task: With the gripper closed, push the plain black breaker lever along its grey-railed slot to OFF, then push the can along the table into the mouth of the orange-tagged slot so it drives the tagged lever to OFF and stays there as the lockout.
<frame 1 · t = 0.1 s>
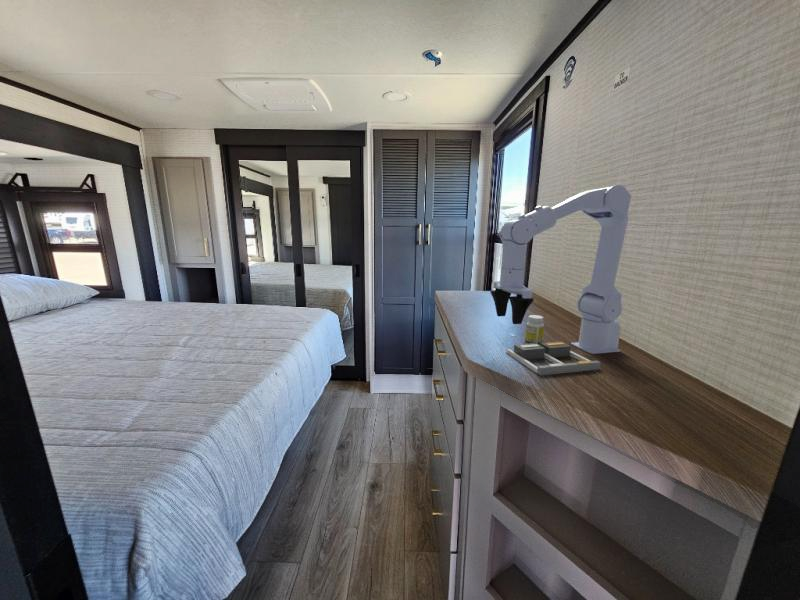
hand: (508, 319, 81), 10 cm above the table, fingers open, 7 cm apart
supplement bottle: (533, 344, 92), on the table
breaker B: (529, 351, 81), point 2 cm above the table, slide at 0.0 cm
breaker A: (554, 349, 83), point 2 cm above the table, slide at 0.0 cm
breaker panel: (548, 360, 80), on the table
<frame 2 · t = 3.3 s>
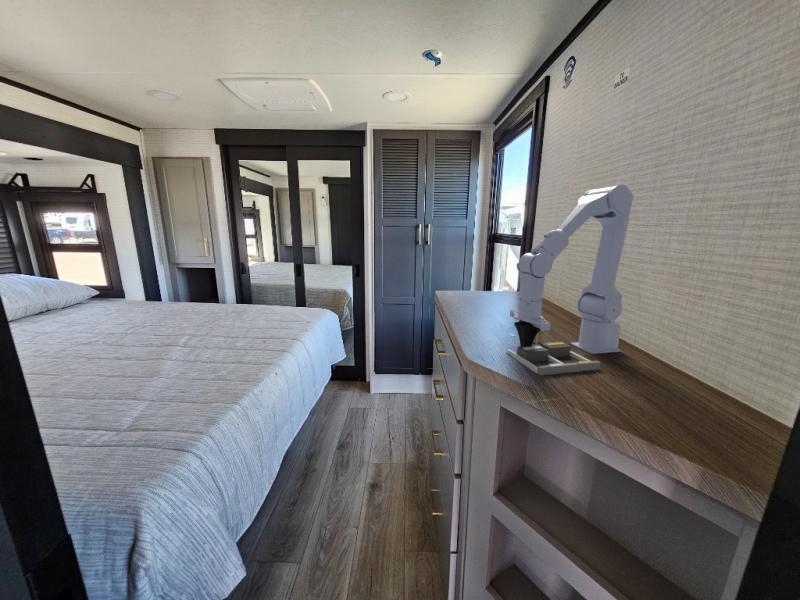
hand: (525, 348, 83), 2 cm above the table, fingers closed
breaker B: (532, 353, 80), point 2 cm above the table, slide at 1.4 cm, touching gripper
everything else where it was.
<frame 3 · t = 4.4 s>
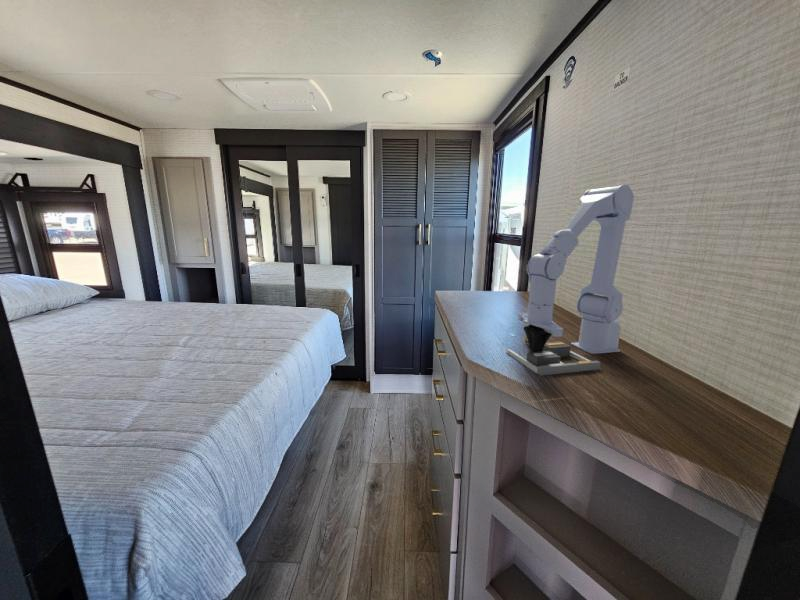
hand: (535, 354, 79), 2 cm above the table, fingers closed
breaker B: (543, 359, 76), point 2 cm above the table, slide at 5.7 cm, touching gripper
everything else where it was.
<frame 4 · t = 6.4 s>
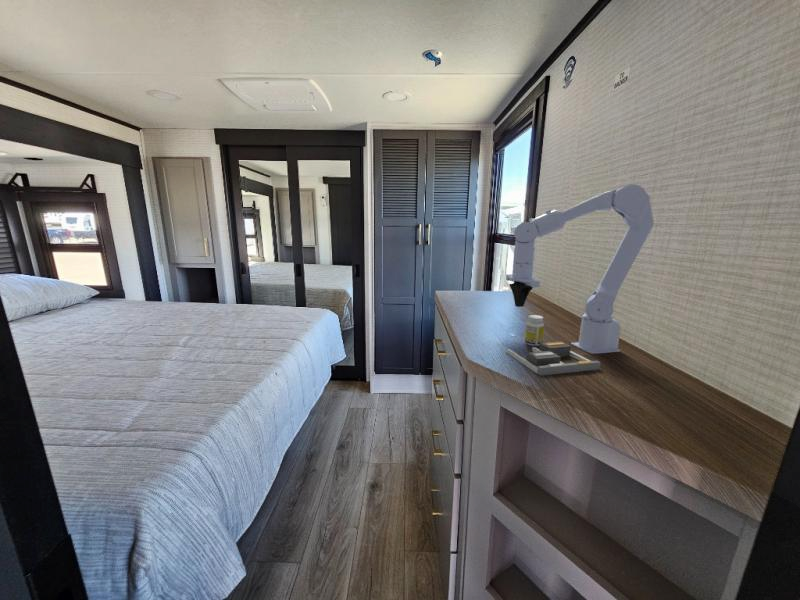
hand: (519, 306, 97), 10 cm above the table, fingers closed
breaker B: (543, 359, 76), point 2 cm above the table, slide at 5.7 cm
everything else where it was.
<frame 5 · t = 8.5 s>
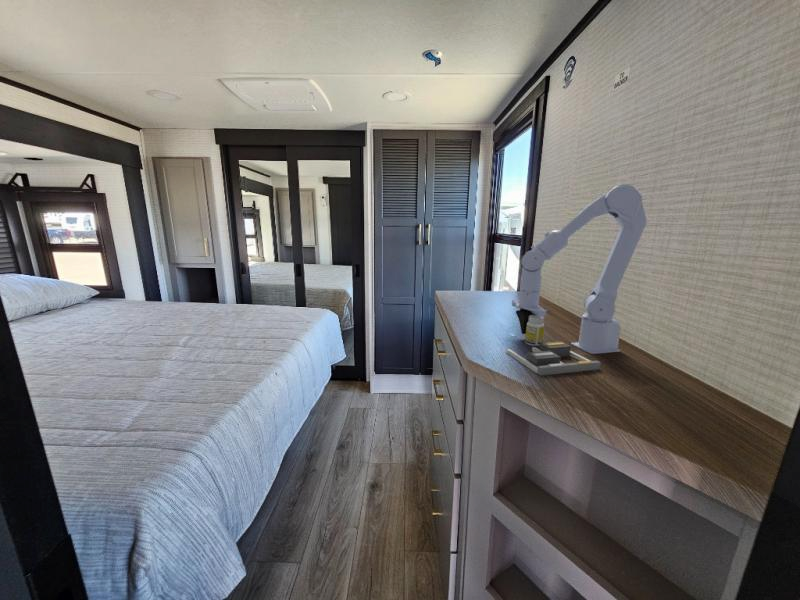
hand: (525, 333, 95), 2 cm above the table, fingers closed
supplement bottle: (533, 344, 92), on the table, touching gripper
everything else where it was.
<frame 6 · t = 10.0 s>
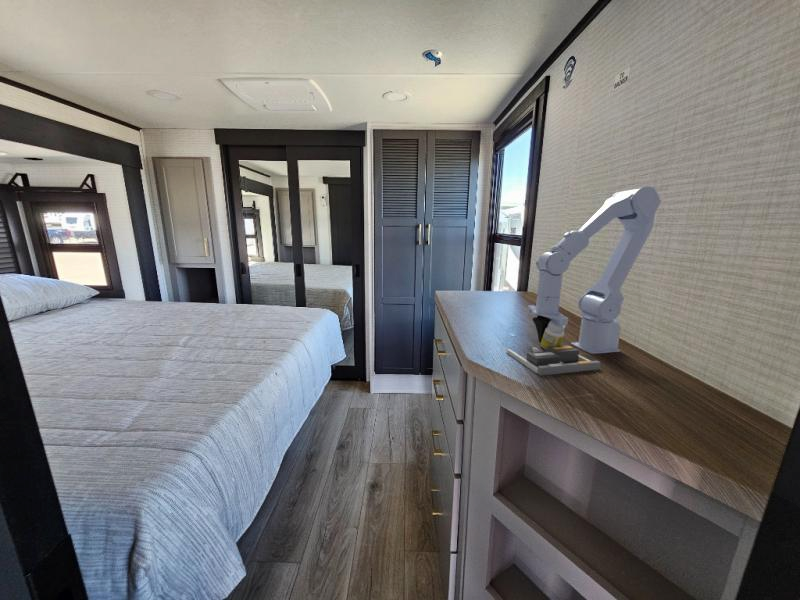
hand: (543, 342, 87), 2 cm above the table, fingers closed
supplement bottle: (548, 350, 85), on the table, touching gripper
breaker A: (562, 352, 80), point 2 cm above the table, slide at 2.9 cm
everything else where it was.
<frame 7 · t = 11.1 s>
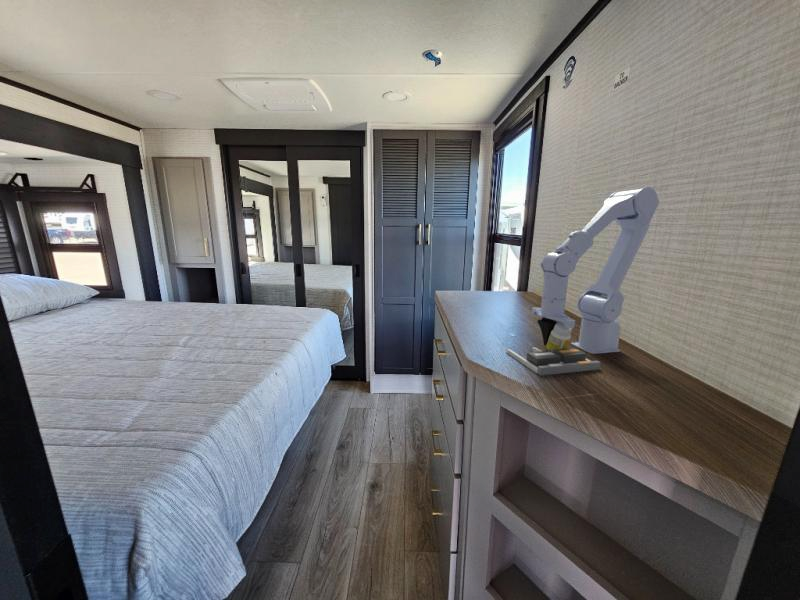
hand: (548, 345, 85), 2 cm above the table, fingers closed
supplement bottle: (553, 353, 83), on the table, touching breaker A, gripper
breaker A: (568, 356, 78), point 2 cm above the table, slide at 5.2 cm, touching supplement bottle
everything else where it was.
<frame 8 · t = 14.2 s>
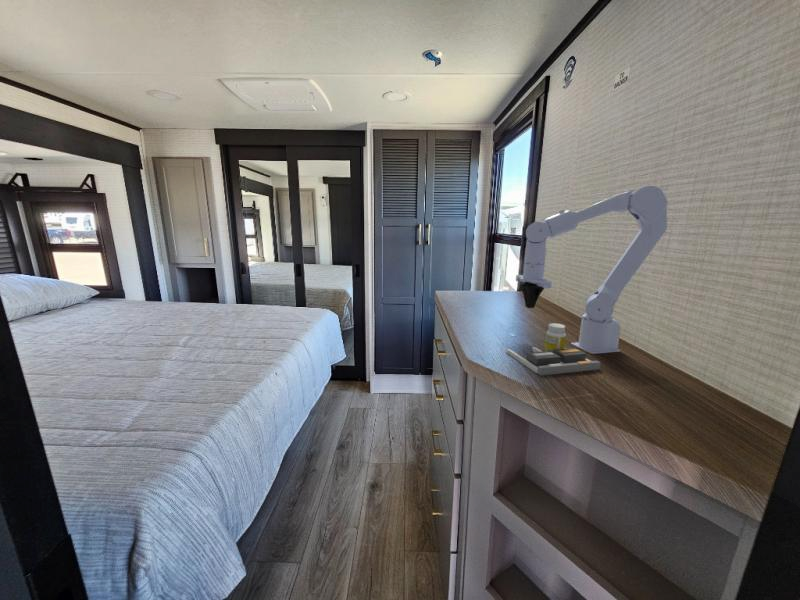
hand: (529, 307, 95), 10 cm above the table, fingers closed
supplement bottle: (553, 355, 83), on the table
breaker A: (568, 356, 78), point 2 cm above the table, slide at 5.2 cm
everything else where it was.
at the end: breaker A slide at 5.2 cm; supplement bottle inside the target area (1.5 cm from its centre), on the table; supplement bottle tilted 0° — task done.
